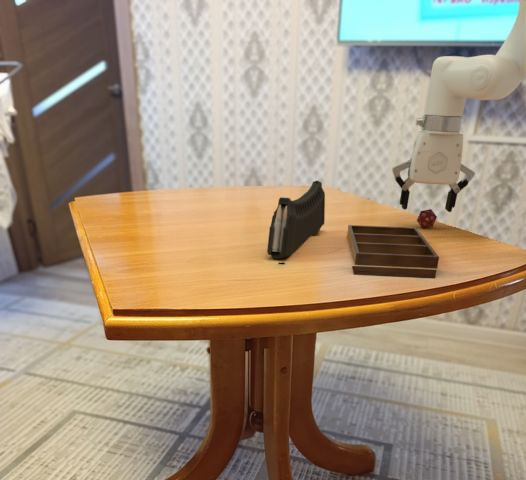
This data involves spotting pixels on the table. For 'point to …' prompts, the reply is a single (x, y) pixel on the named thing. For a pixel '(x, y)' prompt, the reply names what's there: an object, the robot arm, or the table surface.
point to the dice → (426, 218)
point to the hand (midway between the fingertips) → (426, 209)
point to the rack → (391, 251)
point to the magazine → (296, 222)
